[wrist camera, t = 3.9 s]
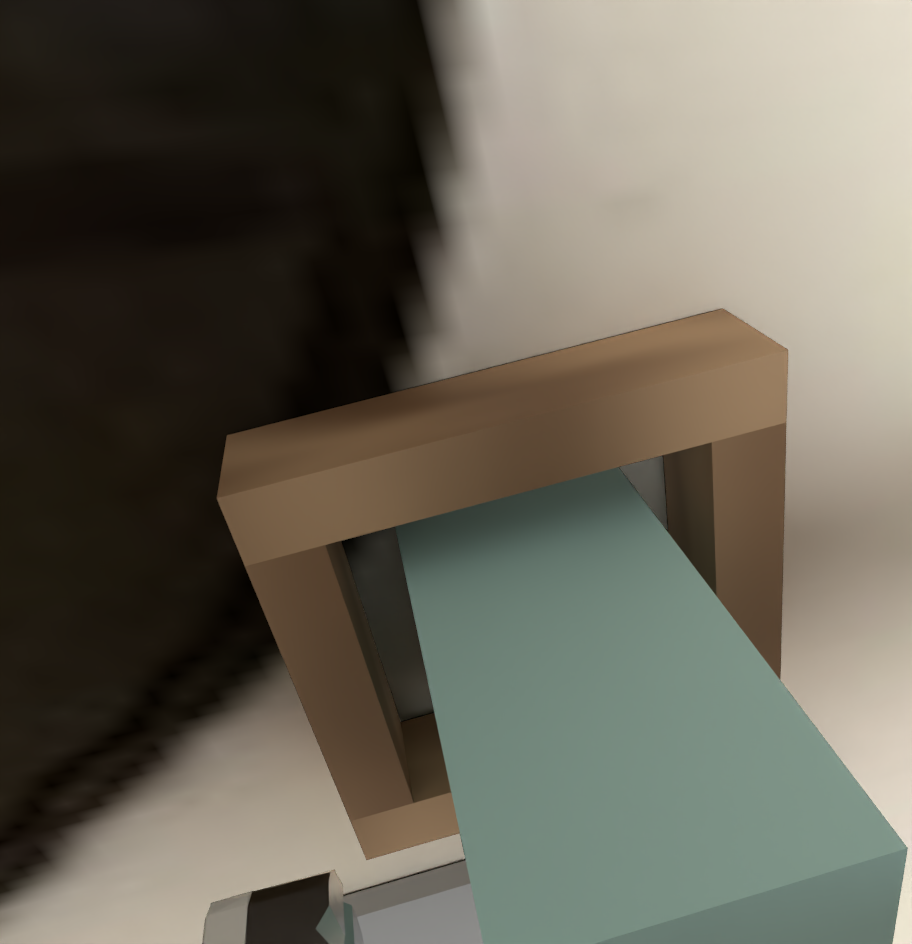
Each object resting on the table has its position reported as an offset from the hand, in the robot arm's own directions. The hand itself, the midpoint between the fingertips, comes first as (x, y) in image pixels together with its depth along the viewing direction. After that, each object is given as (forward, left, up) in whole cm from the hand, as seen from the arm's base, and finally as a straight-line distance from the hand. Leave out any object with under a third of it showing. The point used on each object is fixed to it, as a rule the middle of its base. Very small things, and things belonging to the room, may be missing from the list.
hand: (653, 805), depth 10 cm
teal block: (0, 0, -6) cm, 6 cm away
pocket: (0, 0, -6) cm, 6 cm away
